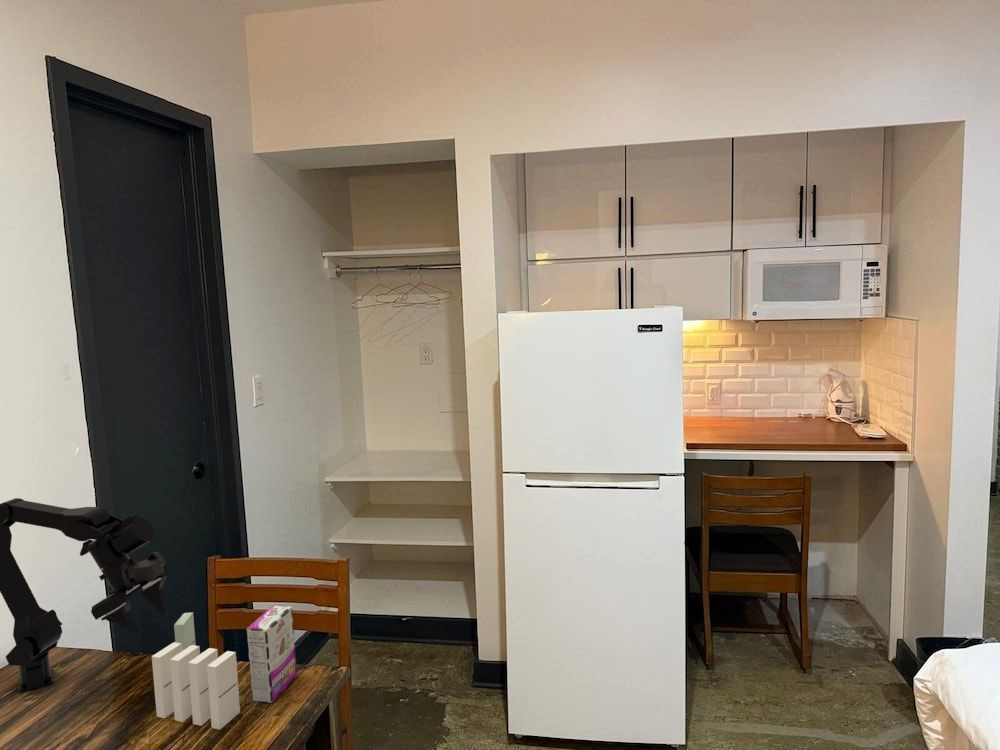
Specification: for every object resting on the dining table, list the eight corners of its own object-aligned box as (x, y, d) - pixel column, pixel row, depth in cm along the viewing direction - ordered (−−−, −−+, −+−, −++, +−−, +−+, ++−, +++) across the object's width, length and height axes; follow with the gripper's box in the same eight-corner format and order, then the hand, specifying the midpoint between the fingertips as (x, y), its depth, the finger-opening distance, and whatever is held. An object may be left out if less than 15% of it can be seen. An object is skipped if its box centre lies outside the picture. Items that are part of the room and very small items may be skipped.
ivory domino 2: (174, 720, 142) (169, 659, 141) (196, 703, 148) (191, 644, 146) (183, 722, 142) (178, 660, 140) (204, 705, 147) (199, 646, 146)
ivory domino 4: (211, 727, 139) (206, 665, 138) (231, 710, 145) (227, 650, 143) (220, 729, 139) (215, 667, 137) (240, 712, 144) (235, 652, 143)
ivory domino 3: (192, 724, 141) (188, 662, 139) (213, 707, 146) (209, 647, 145) (201, 725, 140) (196, 664, 139) (221, 708, 146) (217, 649, 144)
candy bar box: (277, 673, 159) (272, 604, 157) (297, 675, 158) (293, 605, 156) (250, 702, 148) (245, 627, 146) (272, 704, 147) (267, 629, 145)
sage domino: (178, 680, 157) (173, 625, 155) (188, 666, 163) (183, 612, 161) (187, 680, 157) (183, 624, 155) (197, 666, 163) (193, 612, 161)
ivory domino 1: (156, 716, 144) (151, 656, 142) (178, 700, 149) (173, 642, 148) (164, 718, 143) (159, 657, 141) (186, 701, 149) (181, 643, 147)
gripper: (114, 562, 141) (155, 628, 142) (168, 530, 160) (204, 589, 160) (72, 586, 143) (112, 651, 144) (130, 552, 161) (166, 610, 162)
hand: (152, 623), depth 153 cm, fingers open, 9 cm apart
